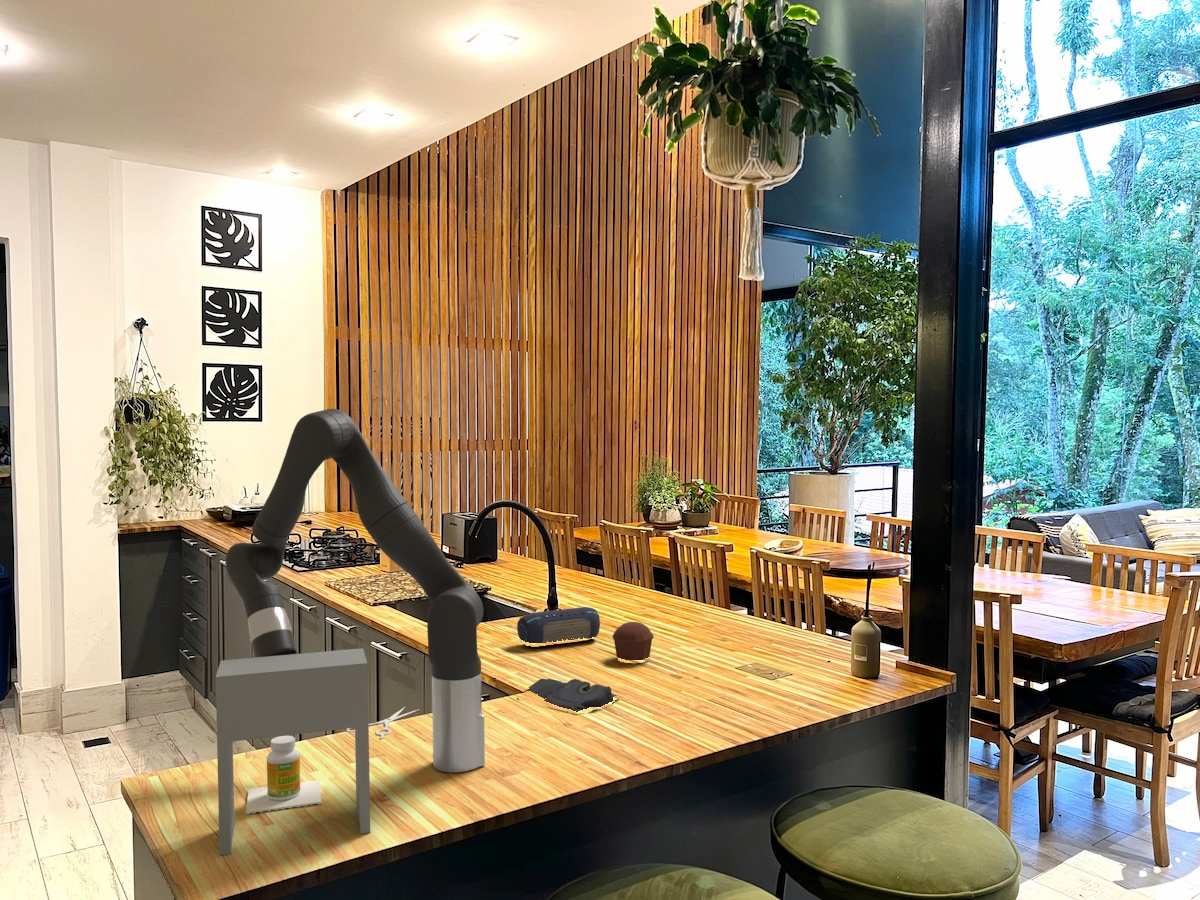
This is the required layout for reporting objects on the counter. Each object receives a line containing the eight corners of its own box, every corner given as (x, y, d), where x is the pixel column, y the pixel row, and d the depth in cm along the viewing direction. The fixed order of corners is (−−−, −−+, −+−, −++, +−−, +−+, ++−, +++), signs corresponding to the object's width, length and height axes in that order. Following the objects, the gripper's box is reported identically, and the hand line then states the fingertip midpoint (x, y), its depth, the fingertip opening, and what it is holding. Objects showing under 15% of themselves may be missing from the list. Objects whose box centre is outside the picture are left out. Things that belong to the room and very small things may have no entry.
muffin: (646, 667, 238) (646, 629, 238) (606, 663, 241) (606, 626, 241) (658, 655, 249) (658, 619, 249) (620, 653, 253) (619, 617, 252)
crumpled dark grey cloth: (553, 686, 223) (553, 666, 223) (625, 702, 210) (625, 681, 209) (510, 701, 211) (510, 681, 211) (583, 719, 198) (583, 697, 197)
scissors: (339, 732, 189) (393, 703, 207) (339, 736, 189) (393, 706, 207) (382, 738, 185) (433, 708, 203) (382, 741, 185) (433, 711, 203)
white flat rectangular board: (319, 782, 163) (319, 779, 163) (321, 804, 153) (321, 801, 153) (248, 791, 159) (248, 789, 159) (245, 814, 149) (245, 812, 149)
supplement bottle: (277, 804, 152) (276, 747, 152) (261, 795, 156) (260, 740, 156) (306, 794, 156) (305, 738, 156) (290, 786, 160) (289, 731, 160)
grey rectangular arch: (365, 804, 153) (362, 646, 152) (370, 832, 142) (367, 663, 141) (225, 824, 146) (221, 658, 145) (219, 855, 135) (215, 676, 134)
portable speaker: (527, 653, 254) (526, 617, 254) (514, 645, 263) (513, 611, 263) (606, 642, 265) (606, 608, 265) (591, 635, 274) (590, 602, 274)
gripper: (231, 639, 167) (249, 723, 160) (309, 619, 173) (330, 699, 166) (233, 653, 173) (251, 734, 166) (309, 633, 179) (329, 710, 172)
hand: (290, 716), depth 166 cm, fingers open, 8 cm apart
